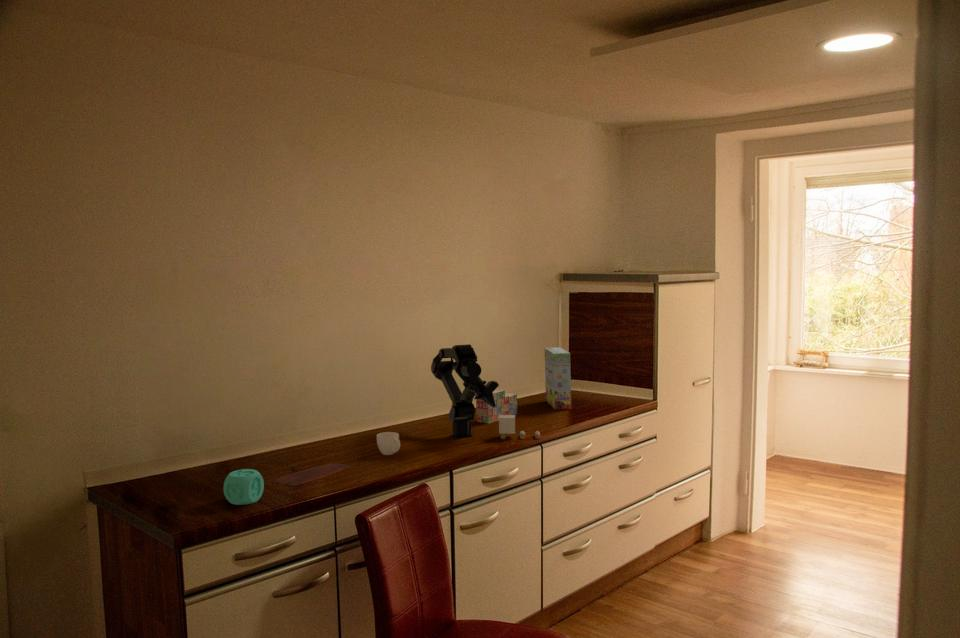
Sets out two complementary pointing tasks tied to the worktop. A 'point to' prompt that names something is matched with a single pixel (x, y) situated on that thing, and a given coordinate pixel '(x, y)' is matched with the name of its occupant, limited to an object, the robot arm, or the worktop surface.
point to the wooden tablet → (310, 474)
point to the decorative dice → (243, 486)
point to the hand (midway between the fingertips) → (494, 406)
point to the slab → (506, 424)
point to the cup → (388, 442)
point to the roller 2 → (537, 435)
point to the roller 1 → (503, 436)
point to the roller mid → (522, 435)
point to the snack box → (558, 378)
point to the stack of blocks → (496, 407)
